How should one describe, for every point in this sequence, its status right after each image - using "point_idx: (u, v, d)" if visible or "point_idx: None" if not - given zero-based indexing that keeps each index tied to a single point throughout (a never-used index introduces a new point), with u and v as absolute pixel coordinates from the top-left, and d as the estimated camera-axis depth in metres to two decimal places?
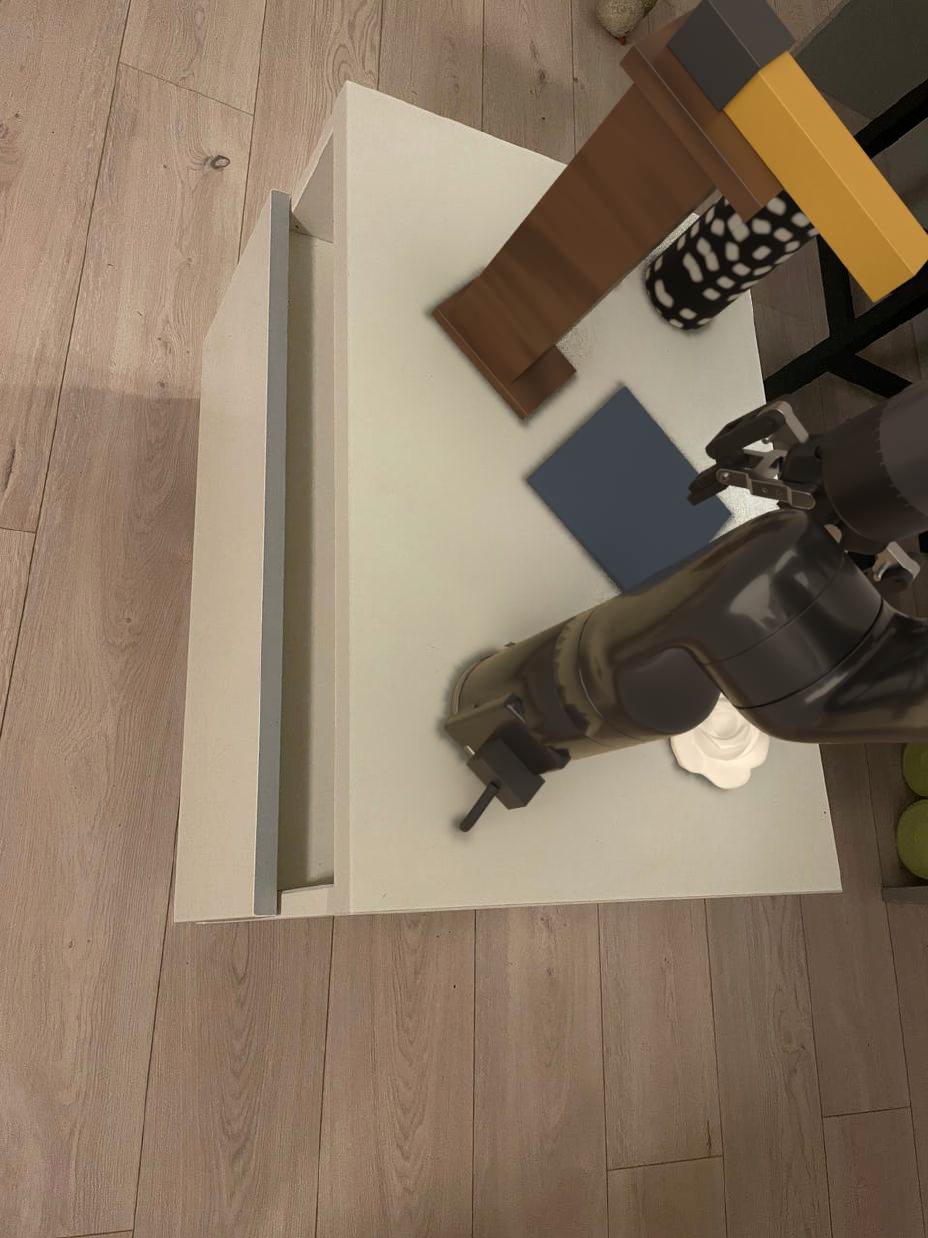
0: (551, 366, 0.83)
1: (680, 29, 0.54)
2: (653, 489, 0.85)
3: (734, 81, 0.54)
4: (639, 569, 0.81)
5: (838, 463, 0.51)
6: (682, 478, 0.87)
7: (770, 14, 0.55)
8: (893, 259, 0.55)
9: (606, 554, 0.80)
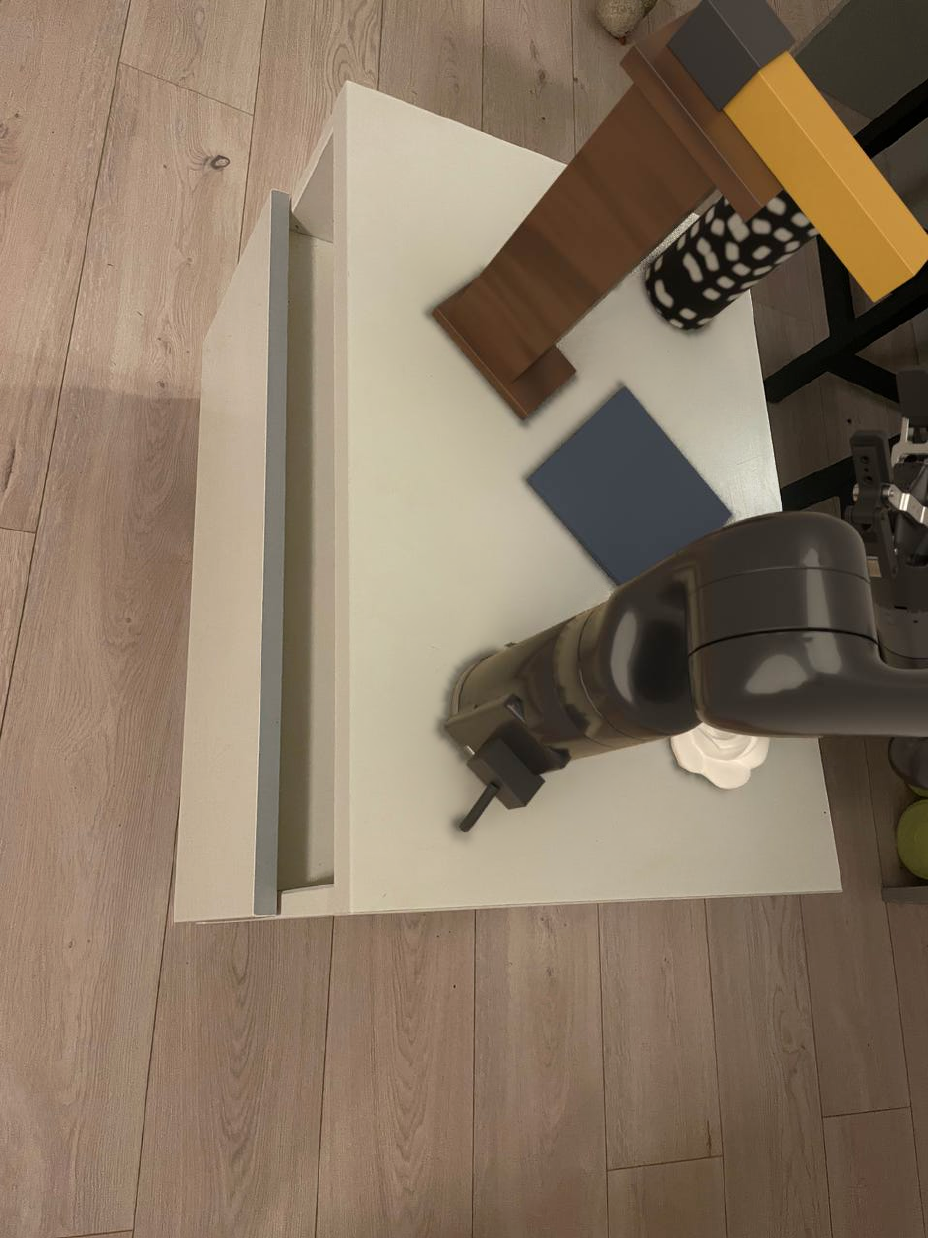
0: (551, 366, 0.83)
1: (680, 29, 0.54)
2: (653, 489, 0.85)
3: (734, 81, 0.54)
4: (639, 569, 0.81)
5: None
6: (682, 478, 0.87)
7: (770, 14, 0.55)
8: (893, 259, 0.55)
9: (606, 554, 0.80)
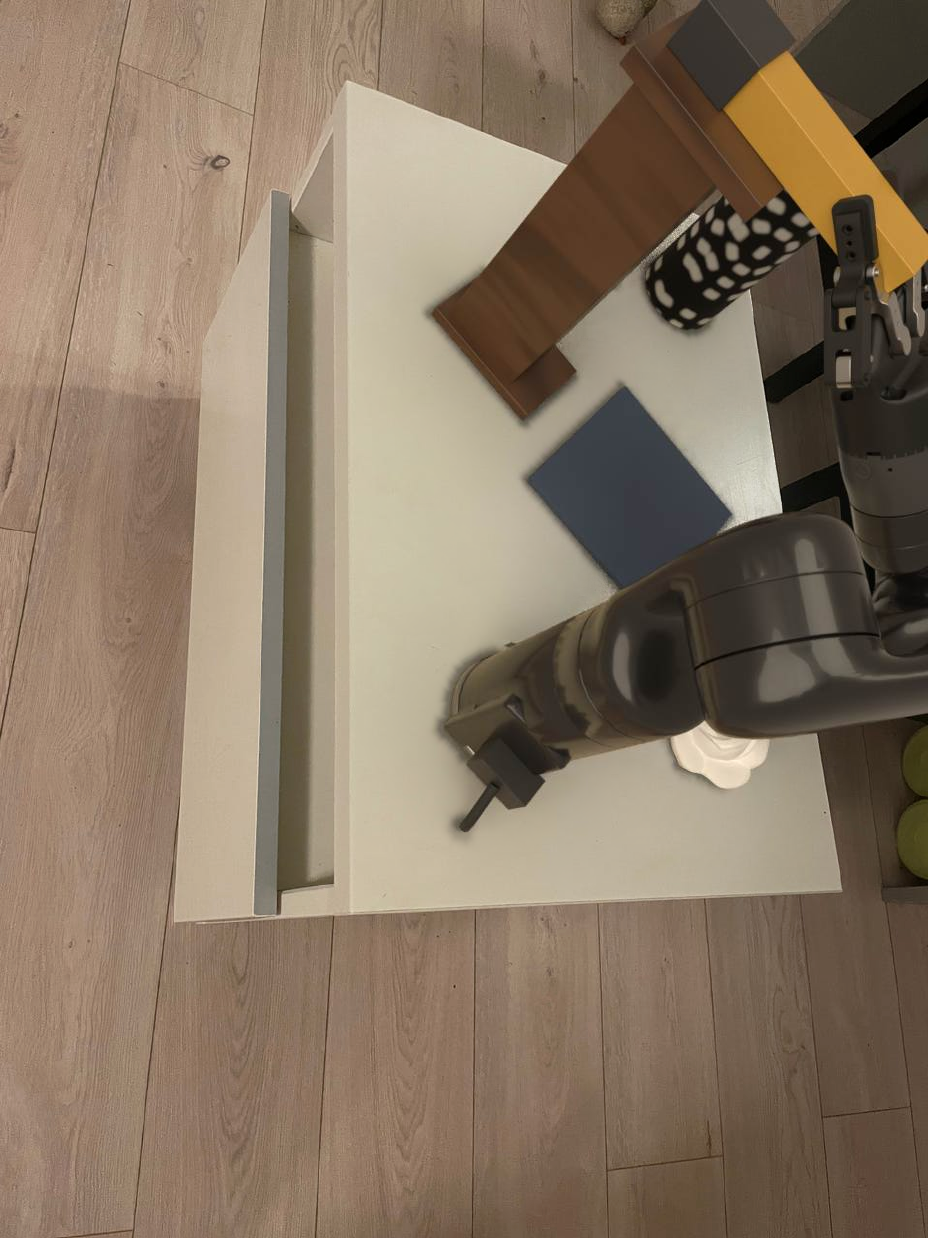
0: (551, 366, 0.83)
1: (680, 29, 0.54)
2: (653, 489, 0.85)
3: (734, 81, 0.54)
4: (639, 569, 0.81)
5: None
6: (682, 478, 0.87)
7: (770, 14, 0.55)
8: (893, 259, 0.55)
9: (606, 554, 0.80)
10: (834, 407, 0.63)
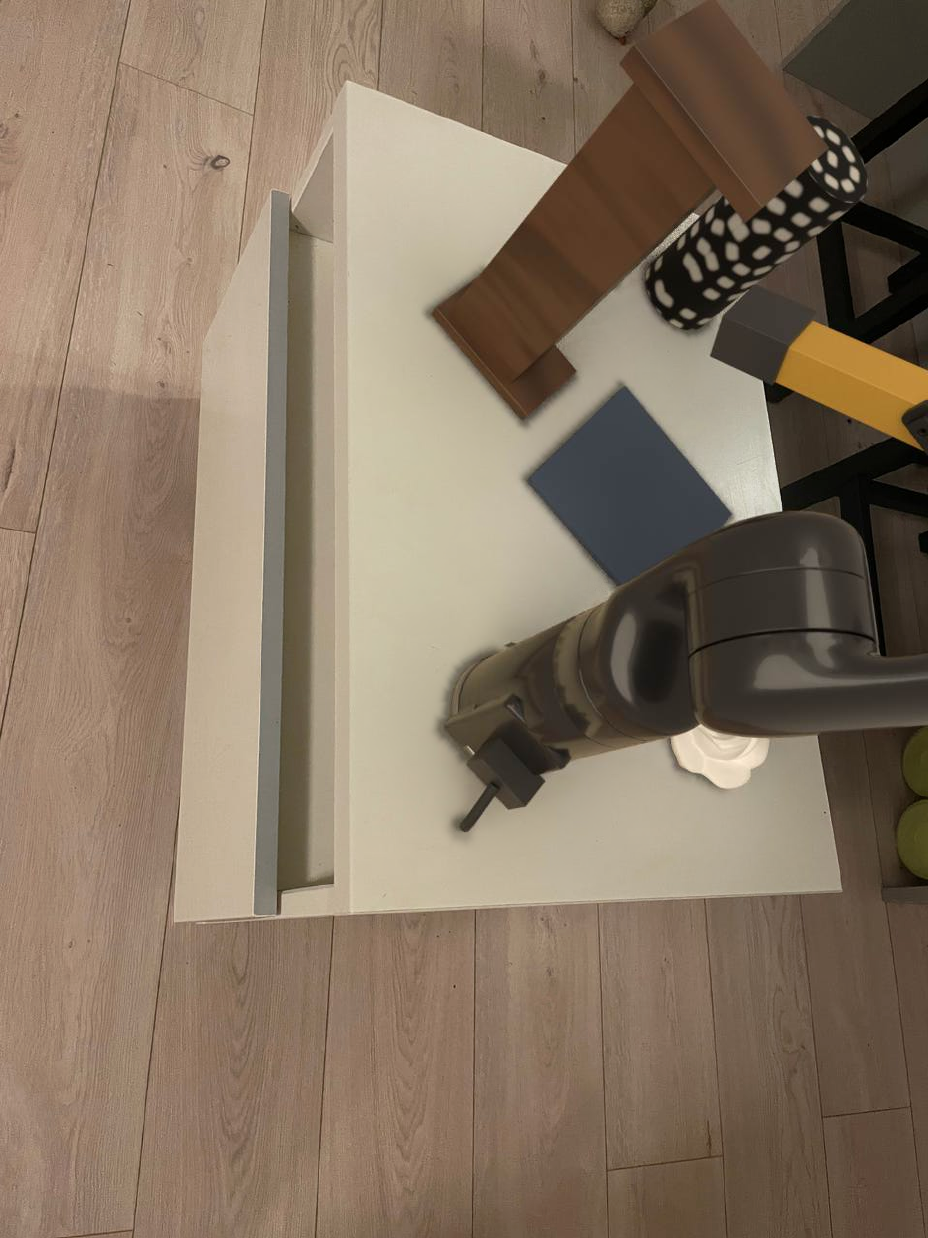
0: (551, 366, 0.83)
1: (715, 343, 0.66)
2: (653, 489, 0.85)
3: (773, 360, 0.64)
4: (639, 569, 0.81)
5: None
6: (682, 478, 0.87)
7: (787, 302, 0.65)
8: None
9: (606, 554, 0.80)
10: None
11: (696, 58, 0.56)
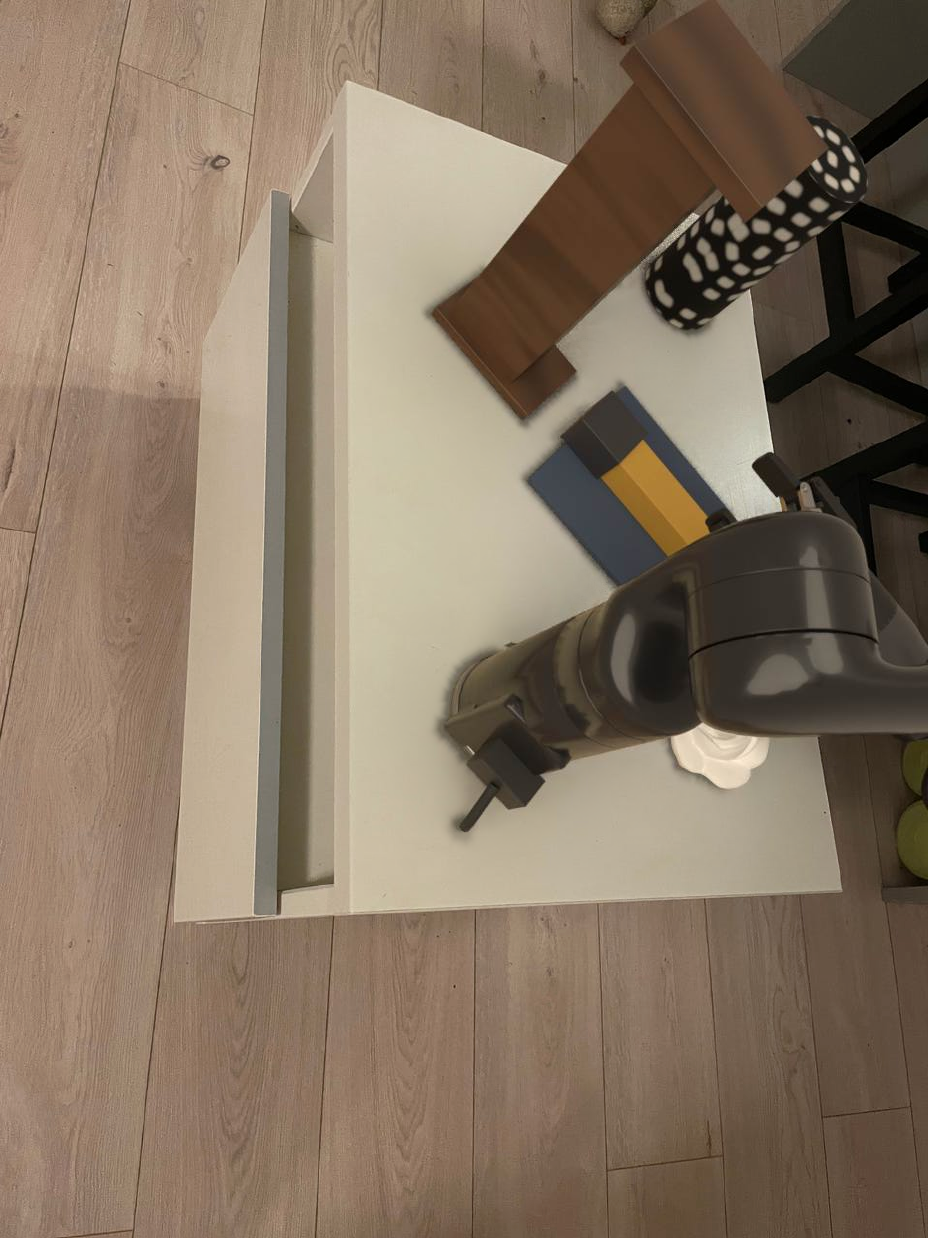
0: (551, 366, 0.83)
1: (568, 431, 0.80)
2: None
3: (604, 466, 0.80)
4: (639, 569, 0.81)
5: None
6: (682, 478, 0.87)
7: (629, 418, 0.81)
8: None
9: (606, 554, 0.80)
10: None
11: (696, 58, 0.56)
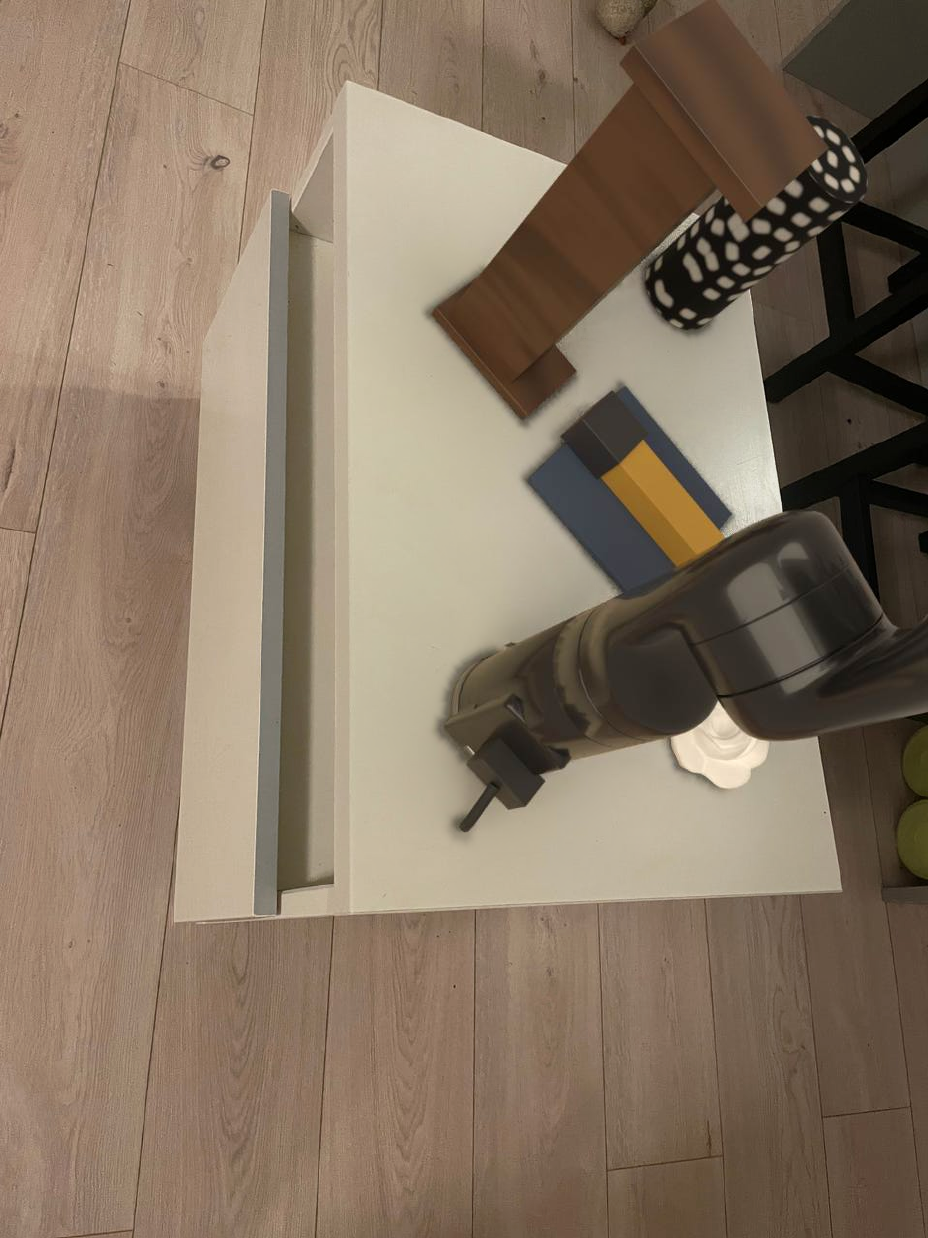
0: (551, 366, 0.83)
1: (568, 431, 0.80)
2: None
3: (604, 466, 0.80)
4: (639, 569, 0.81)
5: None
6: (682, 478, 0.87)
7: (629, 418, 0.81)
8: None
9: (606, 554, 0.80)
10: None
11: (696, 58, 0.56)
